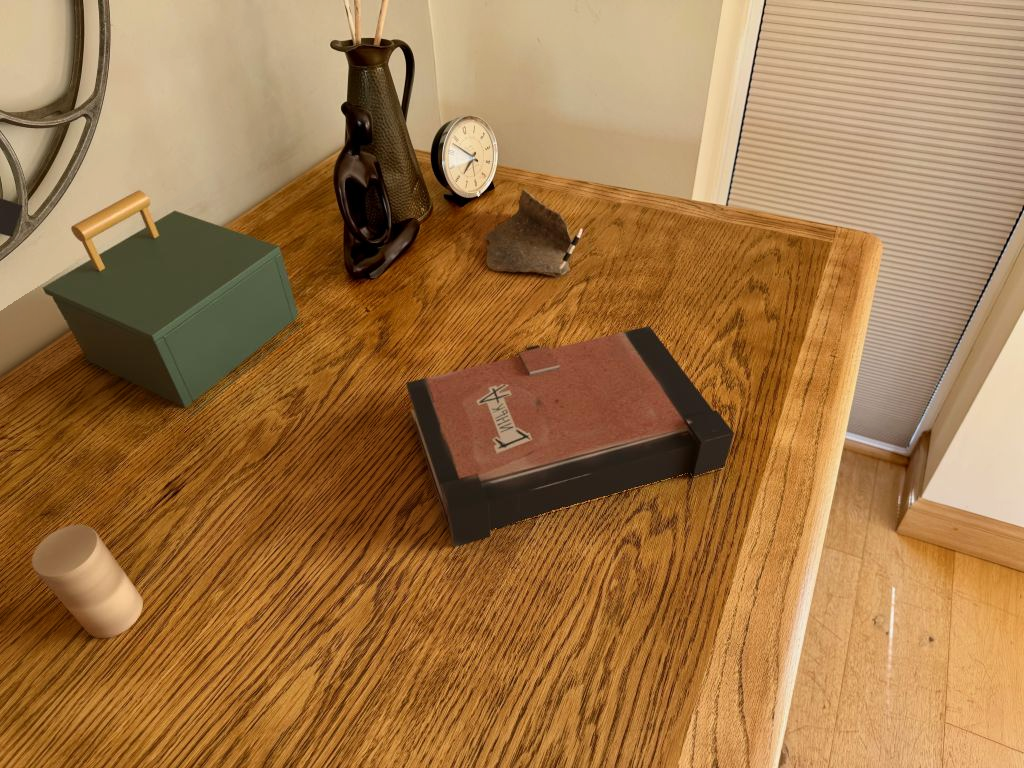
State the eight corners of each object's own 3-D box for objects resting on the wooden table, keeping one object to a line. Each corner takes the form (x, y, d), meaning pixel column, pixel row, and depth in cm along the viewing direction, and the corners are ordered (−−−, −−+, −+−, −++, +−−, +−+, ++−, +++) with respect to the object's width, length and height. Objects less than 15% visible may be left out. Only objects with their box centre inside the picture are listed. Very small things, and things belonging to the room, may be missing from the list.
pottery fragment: (478, 264, 103) (457, 238, 99) (537, 209, 103) (518, 182, 99) (536, 317, 90) (514, 291, 87) (603, 255, 90) (584, 226, 86)
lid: (45, 294, 73) (15, 242, 69) (176, 216, 84) (158, 167, 79) (154, 342, 67) (129, 289, 63) (281, 252, 78) (267, 201, 74)
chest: (93, 370, 80) (51, 297, 73) (209, 289, 90) (183, 218, 83) (189, 417, 74) (155, 343, 67) (301, 325, 85) (281, 252, 78)
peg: (72, 622, 58) (17, 560, 51) (118, 580, 60) (71, 515, 54) (109, 648, 56) (57, 586, 50) (155, 603, 59) (110, 539, 53)
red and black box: (641, 354, 80) (646, 318, 77) (723, 469, 68) (734, 433, 64) (409, 410, 74) (404, 374, 71) (454, 547, 62) (449, 512, 59)
